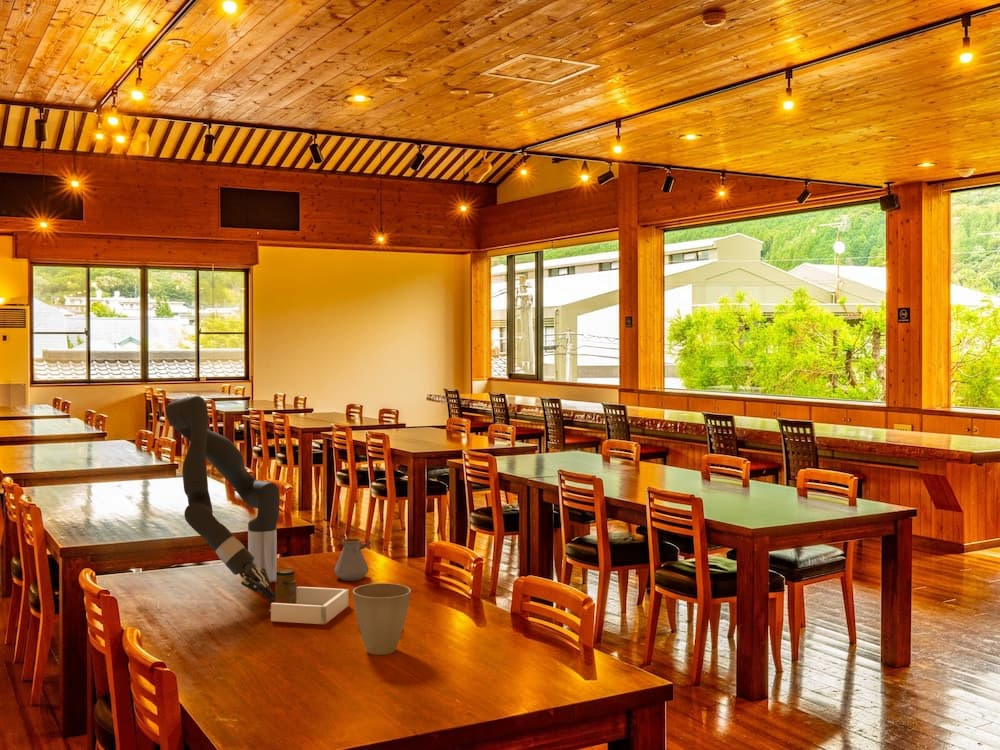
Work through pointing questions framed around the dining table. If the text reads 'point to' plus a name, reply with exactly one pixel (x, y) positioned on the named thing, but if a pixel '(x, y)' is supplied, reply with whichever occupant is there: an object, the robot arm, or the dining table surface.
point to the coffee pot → (352, 561)
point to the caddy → (312, 606)
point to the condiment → (285, 587)
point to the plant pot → (381, 615)
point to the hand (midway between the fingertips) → (273, 598)
